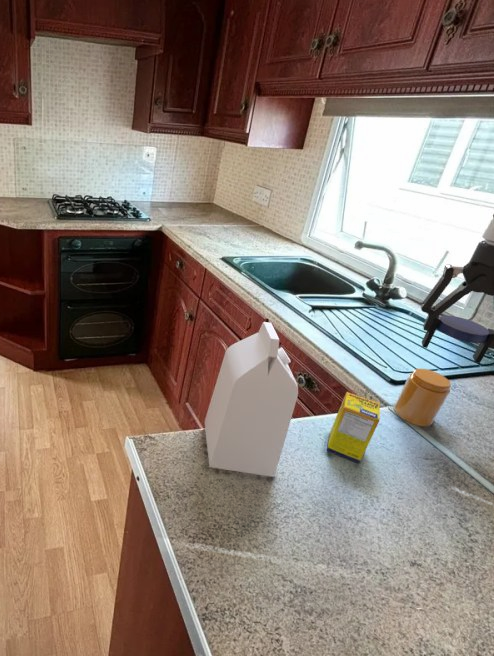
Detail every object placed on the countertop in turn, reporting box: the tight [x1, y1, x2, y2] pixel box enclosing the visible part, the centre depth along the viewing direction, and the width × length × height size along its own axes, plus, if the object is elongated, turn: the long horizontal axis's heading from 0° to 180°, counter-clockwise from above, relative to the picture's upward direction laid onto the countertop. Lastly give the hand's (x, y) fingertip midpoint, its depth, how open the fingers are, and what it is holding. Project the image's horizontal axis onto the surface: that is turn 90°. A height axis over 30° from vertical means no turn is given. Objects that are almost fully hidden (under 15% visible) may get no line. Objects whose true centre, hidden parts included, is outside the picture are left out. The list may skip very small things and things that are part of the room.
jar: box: [393, 368, 451, 427], centre depth 90 cm, size 8×8×10 cm
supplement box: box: [326, 391, 381, 464], centre depth 78 cm, size 6×6×11 cm
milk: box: [204, 321, 299, 478], centre depth 72 cm, size 12×12×26 cm
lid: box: [436, 314, 490, 344], centre depth 80 cm, size 8×8×2 cm
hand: (449, 352), depth 82 cm, fingers closed on lid, 8 cm apart
